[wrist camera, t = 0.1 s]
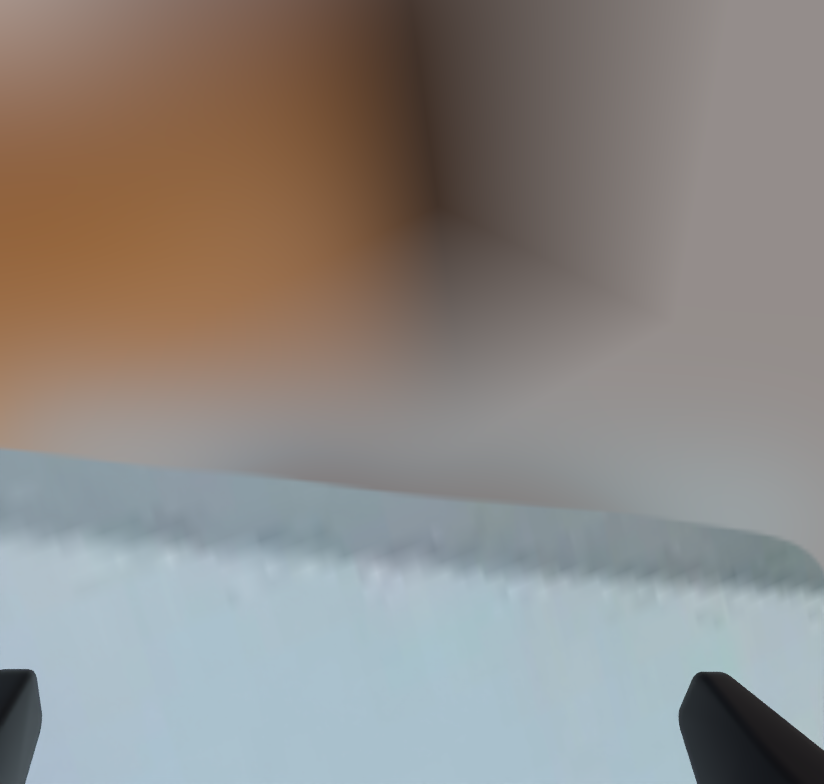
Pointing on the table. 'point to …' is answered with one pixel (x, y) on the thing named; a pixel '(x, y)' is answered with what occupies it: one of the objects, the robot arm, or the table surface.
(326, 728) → the table surface
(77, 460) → the table surface
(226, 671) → the table surface
